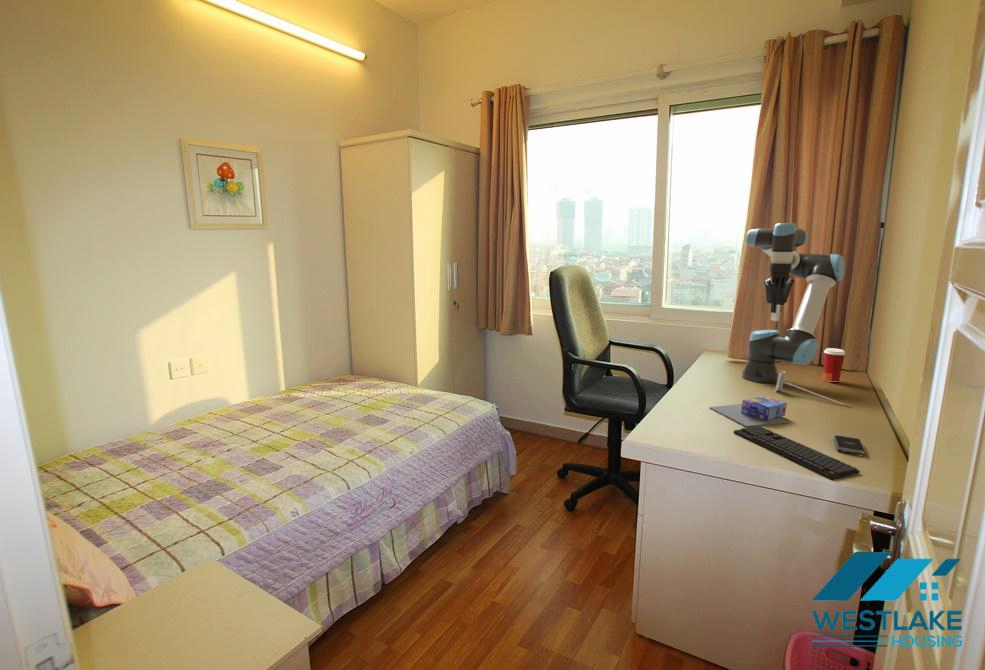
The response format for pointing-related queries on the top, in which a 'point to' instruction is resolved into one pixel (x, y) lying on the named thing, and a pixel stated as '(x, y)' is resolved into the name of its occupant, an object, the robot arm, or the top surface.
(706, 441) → the top surface
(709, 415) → the top surface
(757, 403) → the ink cartridge box
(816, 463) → the keyboard
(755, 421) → the mat
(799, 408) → the top surface
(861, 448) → the external hard drive
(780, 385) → the brush
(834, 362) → the coffee cup
